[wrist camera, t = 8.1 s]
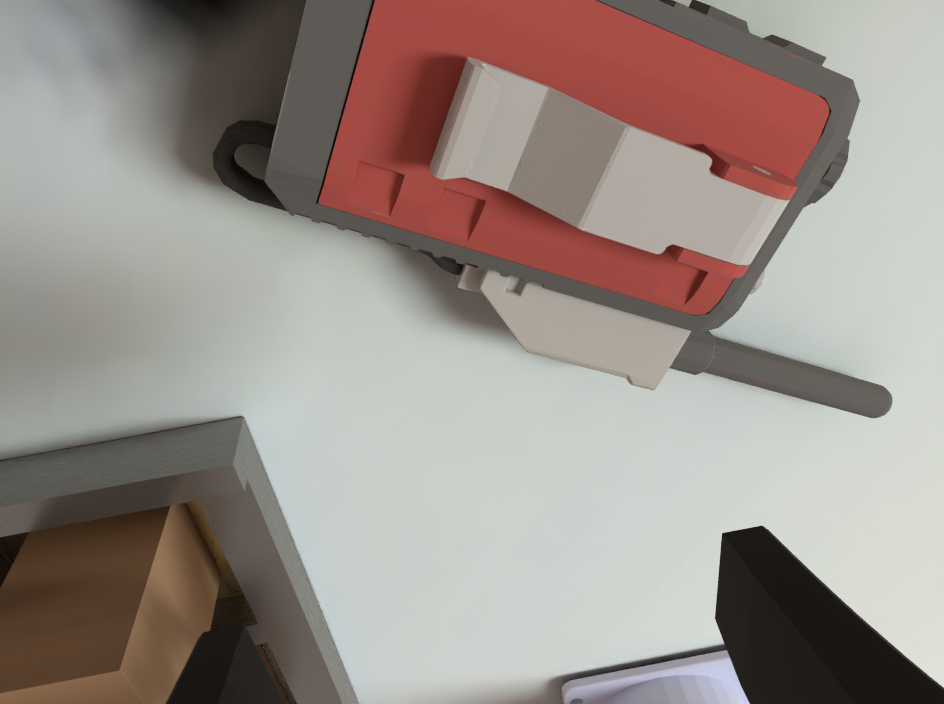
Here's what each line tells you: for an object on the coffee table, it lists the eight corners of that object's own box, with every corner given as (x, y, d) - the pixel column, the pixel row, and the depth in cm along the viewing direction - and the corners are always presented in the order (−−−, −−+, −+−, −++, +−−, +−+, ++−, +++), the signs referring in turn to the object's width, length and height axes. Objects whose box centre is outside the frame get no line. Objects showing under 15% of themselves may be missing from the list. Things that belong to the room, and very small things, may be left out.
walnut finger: (227, 585, 24) (191, 773, 19) (105, 608, 24) (36, 803, 19) (177, 484, 21) (119, 671, 16) (40, 509, 21) (-60, 705, 16)
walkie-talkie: (204, 231, 18) (840, 405, 24) (162, 322, 14) (927, 502, 20) (287, -180, 14) (1034, 152, 20) (258, -202, 10) (1189, 216, 16)
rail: (360, 708, 29) (359, 882, 24) (134, 752, 29) (85, 937, 24) (243, 416, 20) (204, 590, 16) (-77, 475, 20) (-222, 670, 15)
